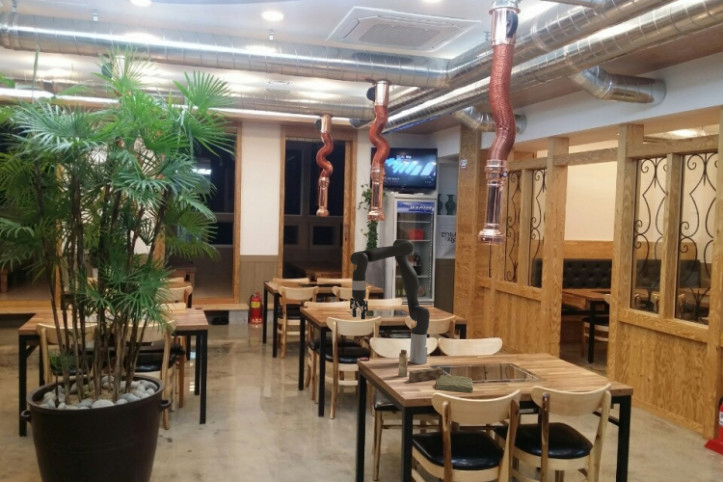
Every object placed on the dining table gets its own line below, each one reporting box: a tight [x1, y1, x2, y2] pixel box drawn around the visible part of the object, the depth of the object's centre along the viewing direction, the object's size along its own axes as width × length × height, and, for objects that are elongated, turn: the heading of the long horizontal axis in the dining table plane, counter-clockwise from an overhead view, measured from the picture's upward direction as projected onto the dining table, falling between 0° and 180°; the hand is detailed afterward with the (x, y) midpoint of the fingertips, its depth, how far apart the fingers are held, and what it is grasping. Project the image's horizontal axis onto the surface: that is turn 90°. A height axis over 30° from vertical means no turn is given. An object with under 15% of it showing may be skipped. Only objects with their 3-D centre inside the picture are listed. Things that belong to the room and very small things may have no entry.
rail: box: [408, 367, 444, 383], centre depth 334 cm, size 20×4×5 cm, turn 125°
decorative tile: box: [435, 374, 474, 393], centre depth 324 cm, size 19×20×4 cm
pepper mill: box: [397, 349, 409, 378], centre depth 339 cm, size 5×5×14 cm
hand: (358, 318), depth 346 cm, fingers open, 8 cm apart
